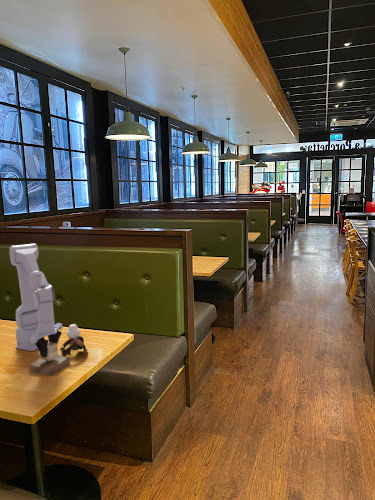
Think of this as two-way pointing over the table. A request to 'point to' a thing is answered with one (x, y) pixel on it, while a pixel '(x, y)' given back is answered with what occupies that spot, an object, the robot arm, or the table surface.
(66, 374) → the table surface
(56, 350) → the maple cube
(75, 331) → the white rounded piece
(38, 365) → the grey flat square block
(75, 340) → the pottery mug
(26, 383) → the table surface
